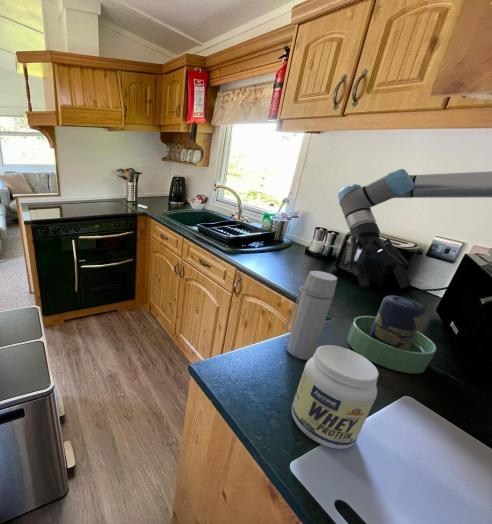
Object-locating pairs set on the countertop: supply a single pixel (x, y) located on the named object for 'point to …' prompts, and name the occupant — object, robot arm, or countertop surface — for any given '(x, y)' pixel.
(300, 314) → the water bottle
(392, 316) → the canister
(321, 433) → the supplement tub
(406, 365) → the green pet bowl
